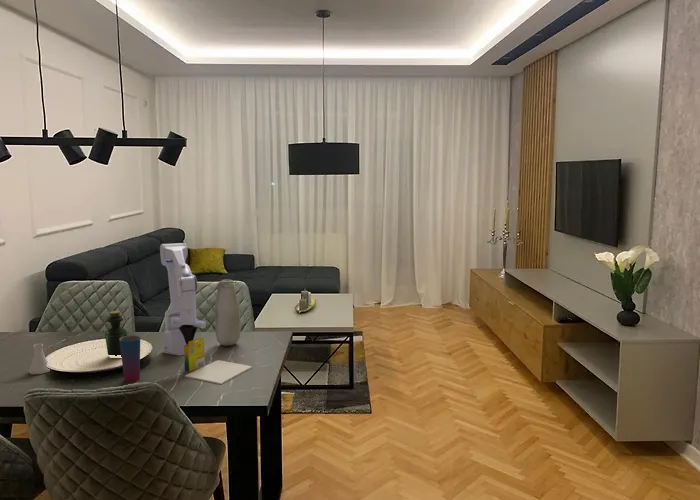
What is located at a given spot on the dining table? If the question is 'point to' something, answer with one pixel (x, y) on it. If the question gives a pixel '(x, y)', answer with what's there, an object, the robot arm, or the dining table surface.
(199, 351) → the crayon box
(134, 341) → the cup
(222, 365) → the mat
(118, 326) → the potion bottle
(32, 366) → the flask
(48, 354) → the dining table surface
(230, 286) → the tall grey vase
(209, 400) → the dining table surface
